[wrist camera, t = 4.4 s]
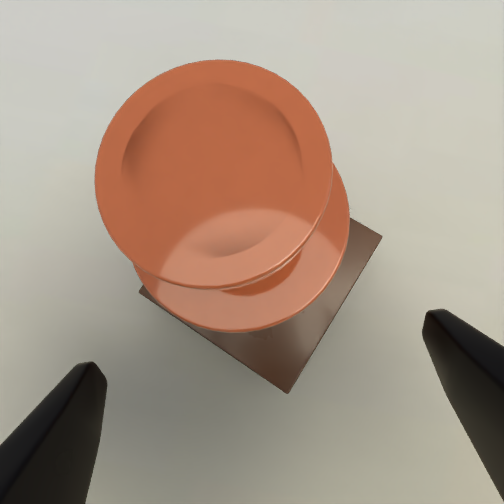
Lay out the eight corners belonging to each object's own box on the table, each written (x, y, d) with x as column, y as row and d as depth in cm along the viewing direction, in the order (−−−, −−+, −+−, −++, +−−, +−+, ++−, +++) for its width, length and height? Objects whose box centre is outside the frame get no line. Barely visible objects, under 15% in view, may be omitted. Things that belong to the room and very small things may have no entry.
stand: (370, 244, 21) (383, 236, 18) (286, 383, 20) (287, 395, 17) (237, 166, 22) (232, 149, 20) (153, 293, 21) (137, 292, 19)
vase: (328, 248, 18) (463, 105, 5) (274, 335, 18) (265, 434, 4) (243, 198, 19) (166, -41, 6) (190, 280, 19) (-28, 225, 5)
